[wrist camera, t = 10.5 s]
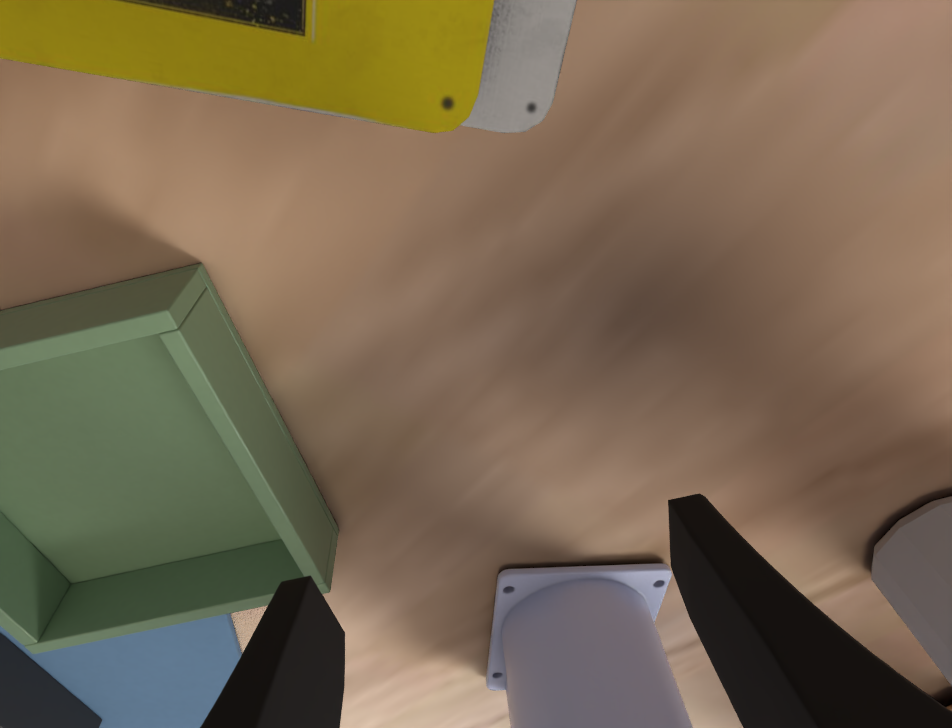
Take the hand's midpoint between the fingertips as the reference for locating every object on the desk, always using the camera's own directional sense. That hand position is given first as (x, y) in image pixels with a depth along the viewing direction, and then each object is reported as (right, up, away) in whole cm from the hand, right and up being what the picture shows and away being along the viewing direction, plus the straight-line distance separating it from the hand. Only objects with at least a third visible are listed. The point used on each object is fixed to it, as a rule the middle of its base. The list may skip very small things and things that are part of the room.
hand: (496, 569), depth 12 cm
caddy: (-13, +1, +9) cm, 16 cm away
